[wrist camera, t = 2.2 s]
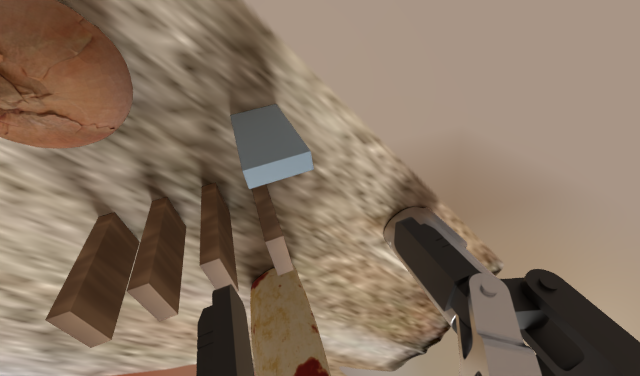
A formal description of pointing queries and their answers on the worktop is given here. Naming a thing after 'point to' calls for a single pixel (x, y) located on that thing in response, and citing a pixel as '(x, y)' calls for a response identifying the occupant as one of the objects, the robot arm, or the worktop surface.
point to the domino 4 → (269, 146)
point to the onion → (58, 77)
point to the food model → (284, 328)
